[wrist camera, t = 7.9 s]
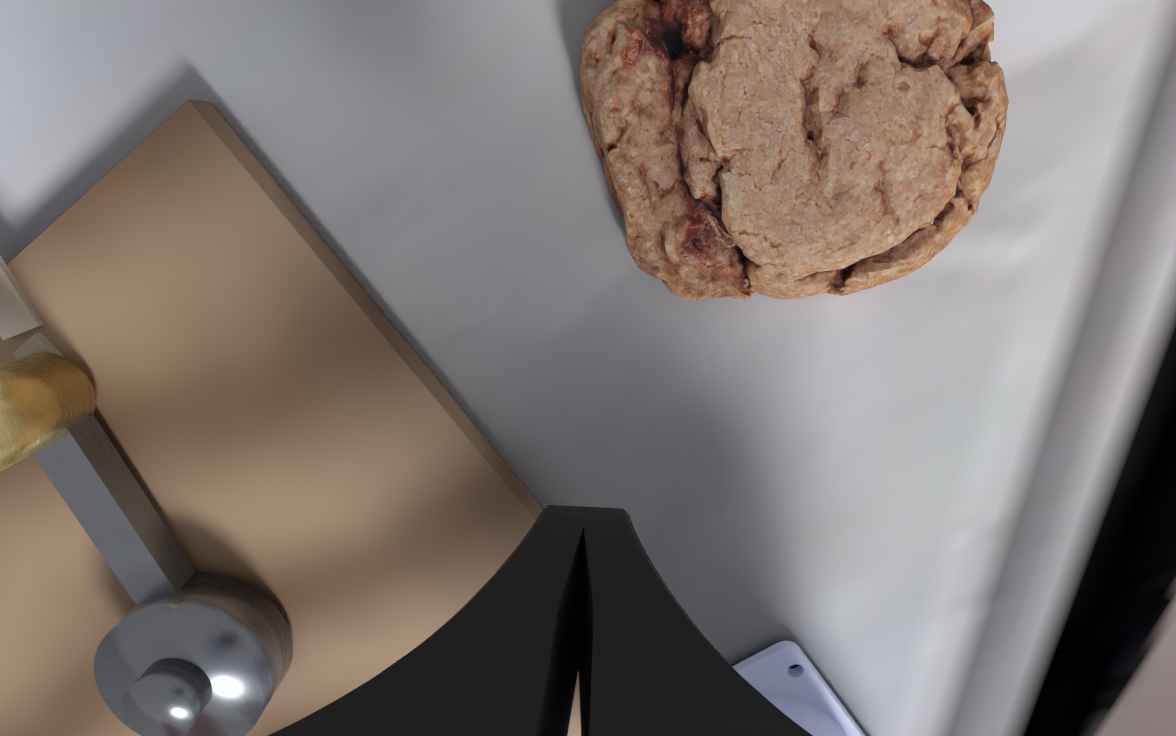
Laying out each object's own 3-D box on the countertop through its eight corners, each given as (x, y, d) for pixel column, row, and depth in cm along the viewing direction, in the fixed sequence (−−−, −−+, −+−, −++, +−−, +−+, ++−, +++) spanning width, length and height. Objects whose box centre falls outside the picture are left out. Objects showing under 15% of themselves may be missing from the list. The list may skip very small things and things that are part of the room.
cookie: (921, 326, 20) (972, 359, 17) (555, 270, 20) (545, 293, 17) (1045, -69, 17) (1135, -111, 14) (610, -139, 16) (609, -197, 14)
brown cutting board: (703, 703, 24) (707, 731, 23) (253, 935, 29) (238, 968, 27) (185, 71, 18) (156, 66, 17) (-276, 496, 23) (-323, 515, 21)
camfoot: (320, 677, 22) (260, 787, 19) (190, 716, 23) (108, 829, 19) (103, 324, 19) (-26, 371, 15) (-43, 383, 20) (-201, 443, 16)
